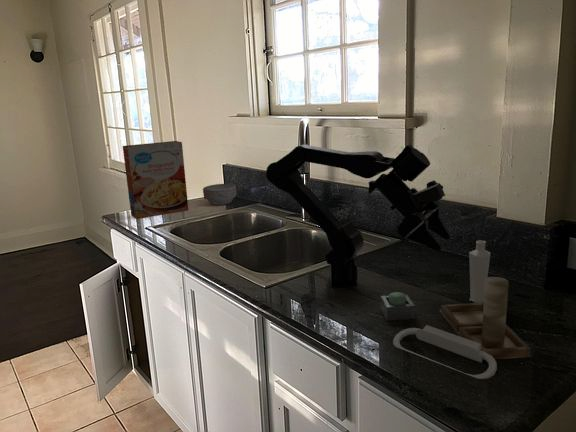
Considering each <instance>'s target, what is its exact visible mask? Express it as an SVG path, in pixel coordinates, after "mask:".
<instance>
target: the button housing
mask: <svg viewBox="0 0 576 432" xmlns="http://www.w3.org/2000/svg"><path fill="white" fill-rule="evenodd" d="M405 295H406V304H405V305H390V304H389V295H380V310H381V312H382V314H383V316H384V318H385V320H386V321H398V320H399V321H401V320H402V321H403V320H415V312H416V311H415V309H416V307H415V306H416V305H415V304H414V303H413V301H412V299H411V298H410V297H409V296H410V295H408V294H405Z"/></svg>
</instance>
